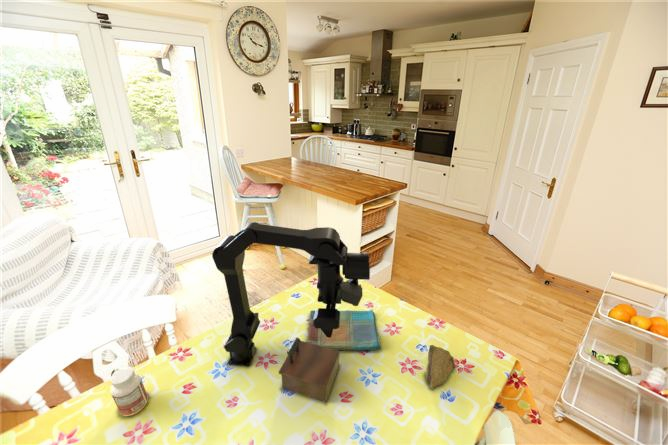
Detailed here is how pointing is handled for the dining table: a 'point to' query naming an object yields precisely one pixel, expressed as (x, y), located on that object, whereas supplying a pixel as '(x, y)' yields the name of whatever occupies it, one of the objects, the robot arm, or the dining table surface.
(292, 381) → the brown wooden box
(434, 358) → the rock
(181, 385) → the dining table surface
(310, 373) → the lid
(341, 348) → the dish towel
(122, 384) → the pill bottle
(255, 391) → the dining table surface
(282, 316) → the dining table surface
